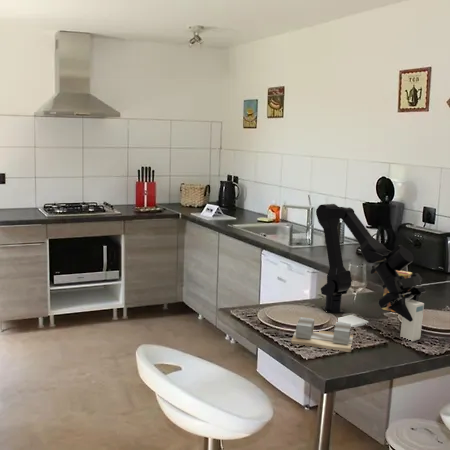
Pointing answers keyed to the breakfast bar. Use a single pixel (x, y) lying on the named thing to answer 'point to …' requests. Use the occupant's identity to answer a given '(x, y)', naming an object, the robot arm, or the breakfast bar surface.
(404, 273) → the candy box
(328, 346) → the rail board
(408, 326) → the module block
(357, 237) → the robot arm
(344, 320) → the external hard drive
